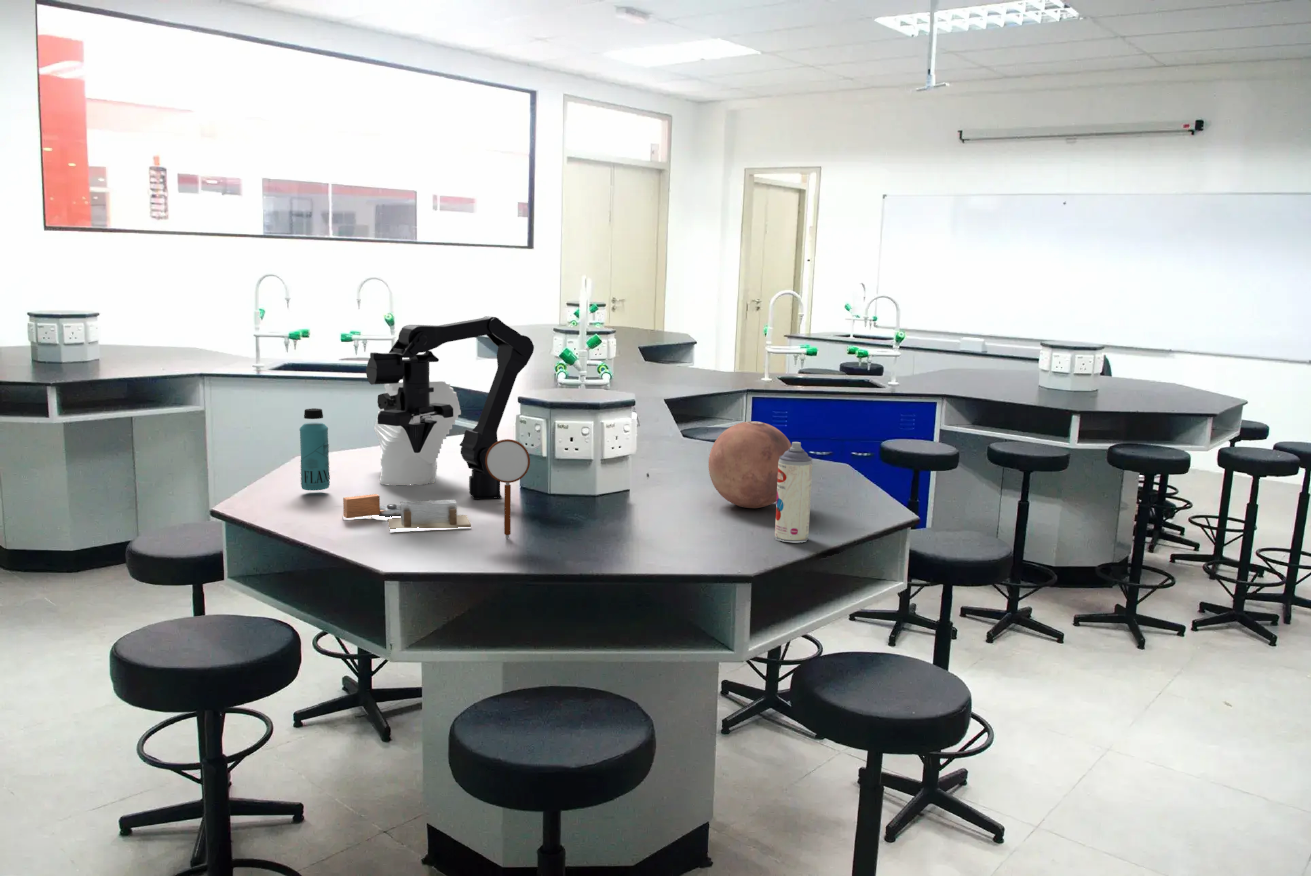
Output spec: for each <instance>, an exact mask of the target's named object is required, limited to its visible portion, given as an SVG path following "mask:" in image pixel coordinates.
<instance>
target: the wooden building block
mask: <svg viewBox="0 0 1311 876" xmlns="http://www.w3.org/2000/svg"><path fill="white" fill-rule="evenodd" d="M380 497H381V496H380V494H377V493H373V494H365V495H364V494H363V495H355V496H347V497H343V498H342V505H343V506H342V507H343V517H345V518H355V517H363V516H368V517H370V516H372V515H379V516H385V517H390V516H391V517H392V516H401V506H400V504H395V503H389V504H385V505H381V501H380V500H381V499H380Z"/></svg>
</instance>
